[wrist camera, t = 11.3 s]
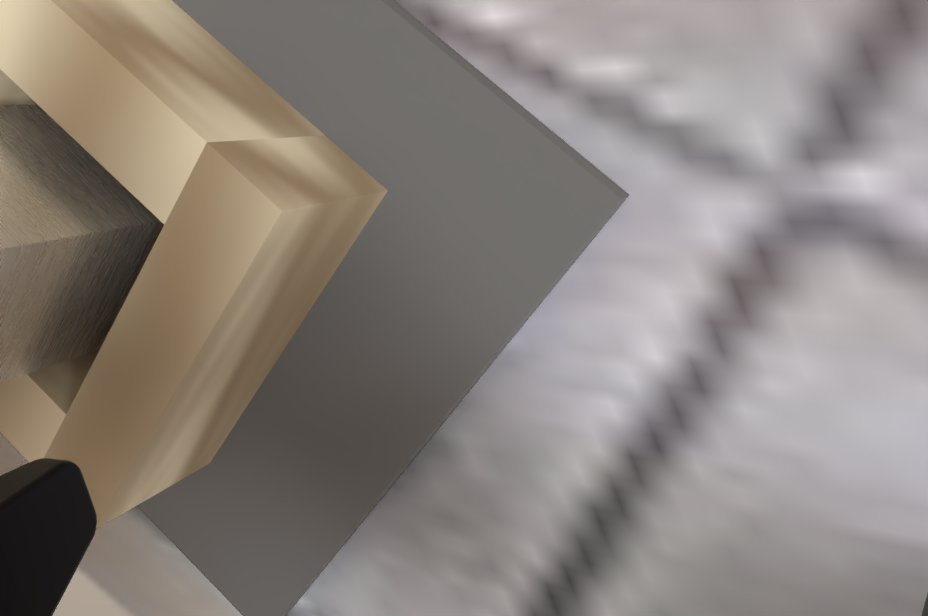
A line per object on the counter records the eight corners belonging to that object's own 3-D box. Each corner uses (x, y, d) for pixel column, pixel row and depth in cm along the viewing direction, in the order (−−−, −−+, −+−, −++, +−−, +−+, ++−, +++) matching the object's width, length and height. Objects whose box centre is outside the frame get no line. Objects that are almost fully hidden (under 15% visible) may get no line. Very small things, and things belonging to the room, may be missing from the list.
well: (387, 190, 18) (282, 210, 15) (209, 463, 22) (93, 531, 19) (104, -59, 20) (-53, -95, 16) (-14, 238, 24) (-161, 262, 20)
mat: (629, 195, 17) (620, 198, 16) (280, 621, 24) (264, 637, 23) (64, -272, 20) (36, -286, 19) (-103, 226, 27) (-128, 229, 26)
